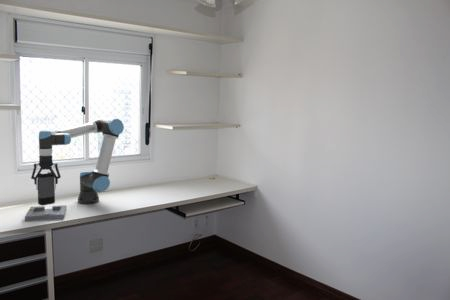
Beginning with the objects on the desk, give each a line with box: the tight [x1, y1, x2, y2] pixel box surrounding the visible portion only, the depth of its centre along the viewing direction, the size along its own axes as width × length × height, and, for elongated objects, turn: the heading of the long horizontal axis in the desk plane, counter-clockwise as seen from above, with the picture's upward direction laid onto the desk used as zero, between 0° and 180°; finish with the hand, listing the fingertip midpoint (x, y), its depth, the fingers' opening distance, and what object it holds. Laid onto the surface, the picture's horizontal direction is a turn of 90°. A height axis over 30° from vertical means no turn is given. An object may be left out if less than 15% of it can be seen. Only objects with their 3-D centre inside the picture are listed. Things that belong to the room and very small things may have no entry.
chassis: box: [24, 204, 67, 222], centre depth 246 cm, size 22×22×4 cm
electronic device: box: [37, 171, 56, 206], centre depth 244 cm, size 9×6×20 cm, turn 141°
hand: (46, 189), depth 244 cm, fingers closed on electronic device, 10 cm apart
